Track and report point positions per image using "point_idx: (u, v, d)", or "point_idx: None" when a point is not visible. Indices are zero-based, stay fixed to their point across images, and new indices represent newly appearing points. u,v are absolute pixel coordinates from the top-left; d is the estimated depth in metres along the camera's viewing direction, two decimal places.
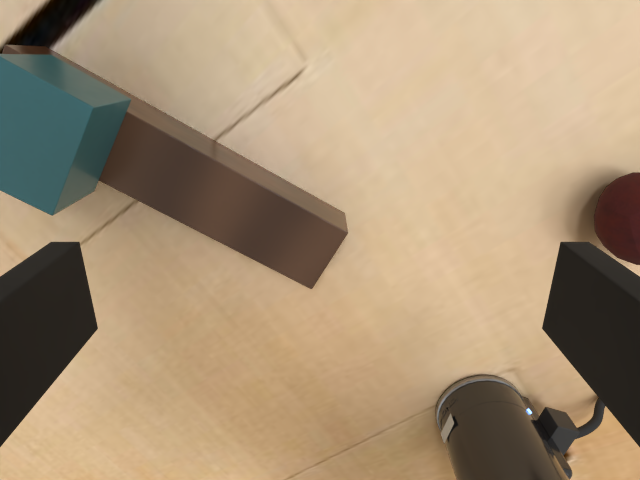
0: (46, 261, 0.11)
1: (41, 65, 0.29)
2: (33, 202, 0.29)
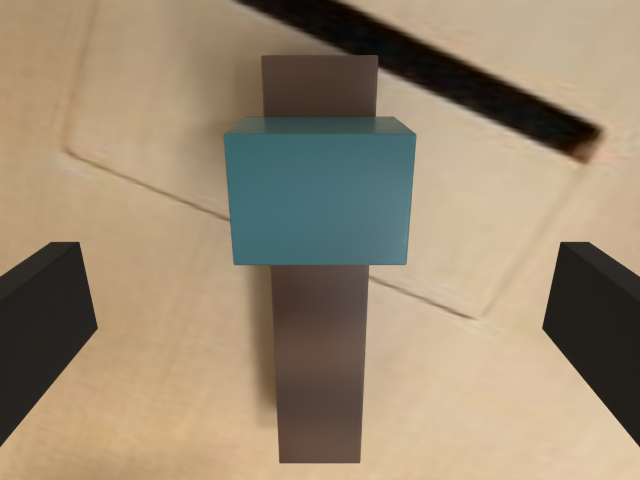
0: (46, 261, 0.11)
1: None
2: (238, 238, 0.20)
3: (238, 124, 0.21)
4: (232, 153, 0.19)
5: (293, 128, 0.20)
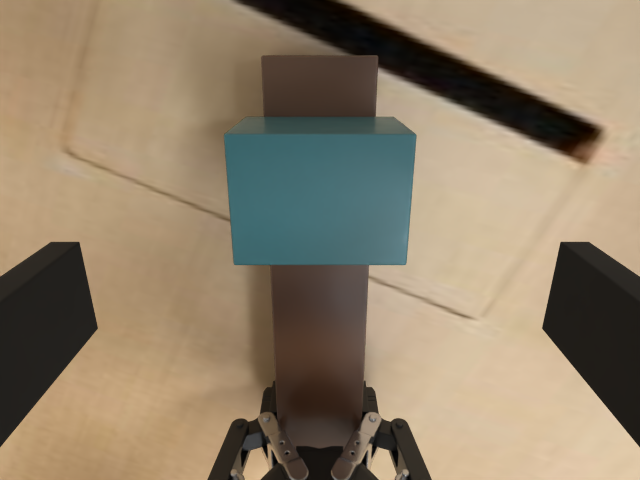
0: (46, 261, 0.11)
1: None
2: (238, 238, 0.20)
3: (238, 124, 0.21)
4: (232, 153, 0.19)
5: (293, 128, 0.20)
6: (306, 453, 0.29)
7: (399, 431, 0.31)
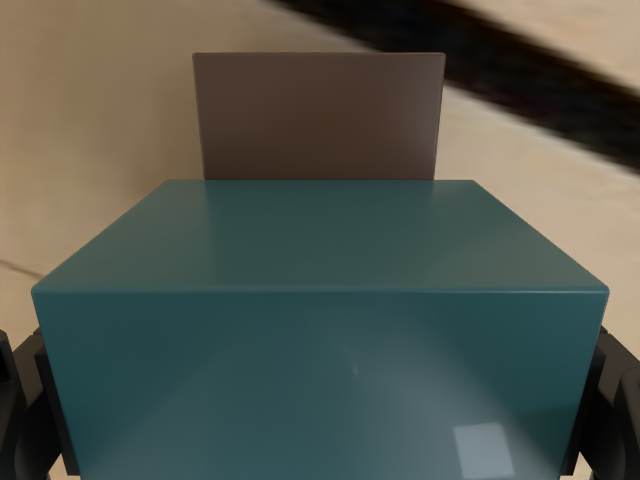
0: None
1: None
2: None
3: (122, 219, 0.09)
4: (63, 338, 0.06)
5: (250, 244, 0.08)
6: None
7: None
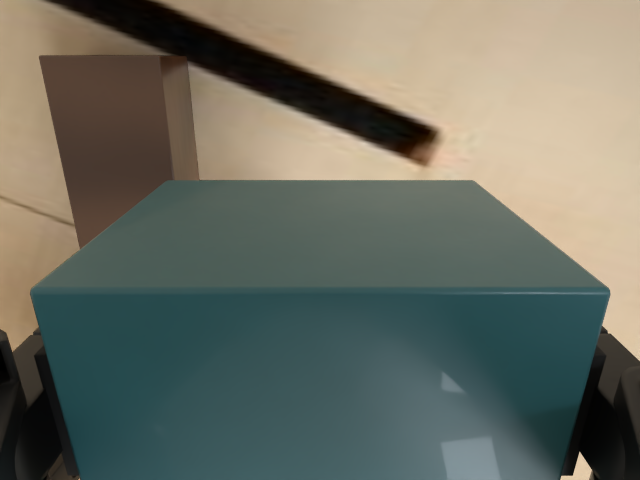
0: None
1: None
2: None
3: (122, 219, 0.09)
4: (62, 339, 0.06)
5: (249, 245, 0.08)
6: None
7: None
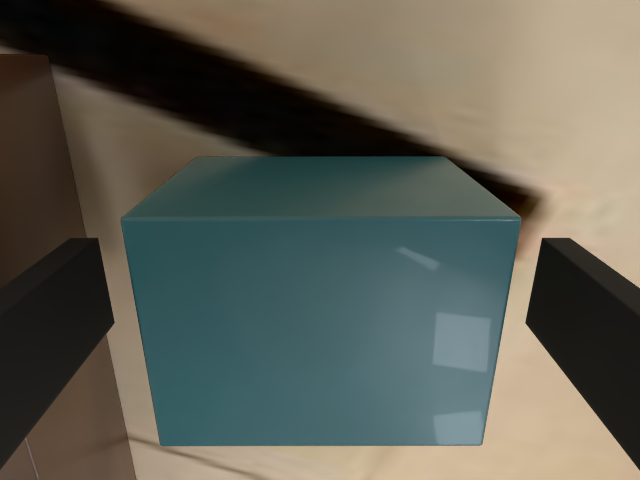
0: (68, 256, 0.11)
1: None
2: (164, 404, 0.11)
3: (170, 181, 0.12)
4: (141, 255, 0.09)
5: (269, 195, 0.10)
6: None
7: None
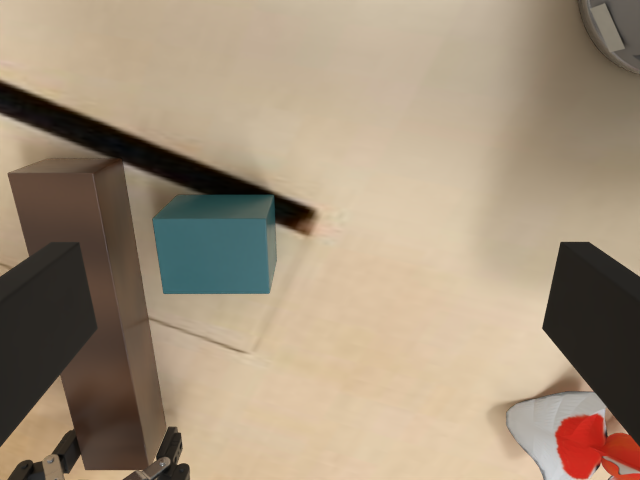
0: (46, 261, 0.11)
1: (270, 224, 0.34)
2: (164, 278, 0.33)
3: (166, 206, 0.34)
4: (158, 229, 0.32)
5: (197, 211, 0.33)
6: None
7: (178, 475, 0.37)
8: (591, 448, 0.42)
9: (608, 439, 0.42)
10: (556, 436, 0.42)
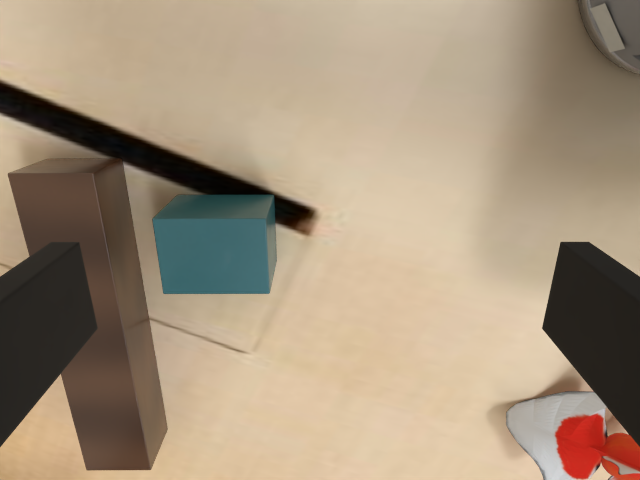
0: (46, 261, 0.11)
1: (270, 224, 0.34)
2: (164, 278, 0.33)
3: (166, 206, 0.34)
4: (158, 229, 0.32)
5: (197, 211, 0.33)
6: None
7: None
8: (591, 448, 0.42)
9: (608, 439, 0.42)
10: (556, 436, 0.42)
